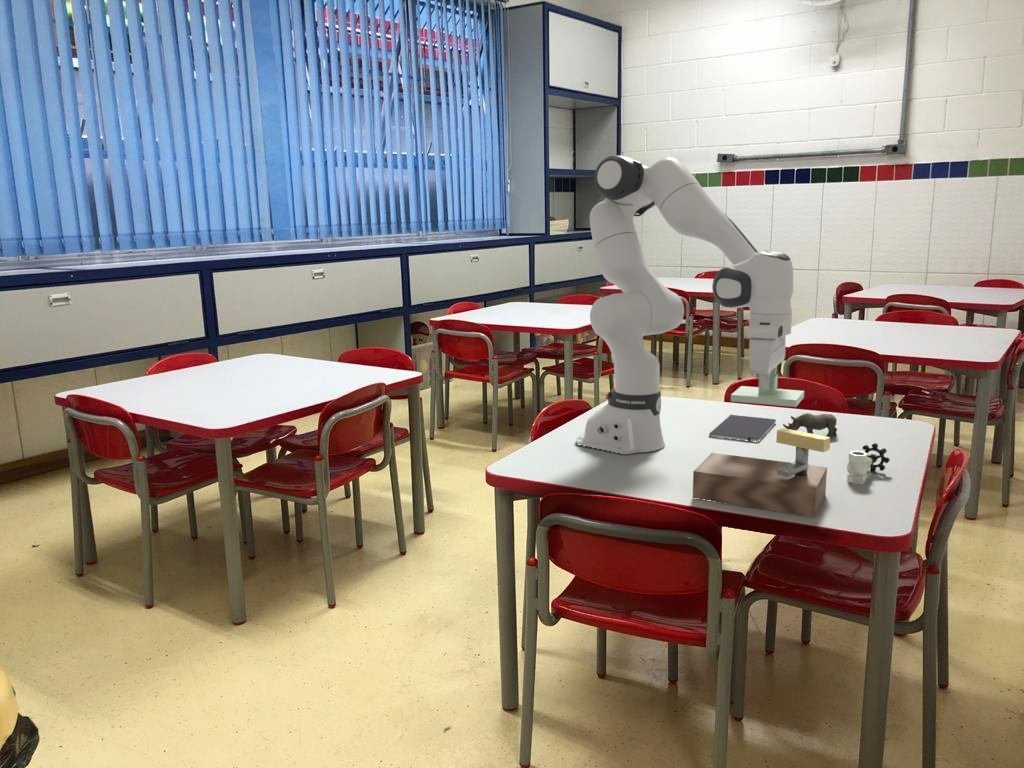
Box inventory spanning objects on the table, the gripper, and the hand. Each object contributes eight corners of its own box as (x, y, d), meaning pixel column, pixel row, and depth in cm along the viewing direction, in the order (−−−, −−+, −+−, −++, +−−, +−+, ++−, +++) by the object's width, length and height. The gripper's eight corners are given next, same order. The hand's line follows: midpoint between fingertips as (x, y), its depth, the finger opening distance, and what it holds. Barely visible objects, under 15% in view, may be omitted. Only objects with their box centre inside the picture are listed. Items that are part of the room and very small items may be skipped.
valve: (867, 488, 172) (888, 474, 180) (870, 458, 170) (891, 445, 179) (837, 481, 176) (858, 468, 185) (839, 452, 175) (860, 440, 183)
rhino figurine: (781, 432, 214) (782, 410, 213) (835, 434, 212) (837, 412, 210) (783, 437, 210) (784, 414, 209) (839, 438, 208) (840, 416, 206)
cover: (730, 401, 181) (731, 377, 179) (741, 392, 189) (742, 369, 188) (796, 407, 174) (797, 382, 173) (803, 397, 183) (805, 373, 181)
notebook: (730, 419, 230) (709, 439, 212) (730, 414, 229) (709, 433, 211) (776, 424, 224) (758, 445, 206) (776, 419, 223) (758, 439, 205)
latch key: (806, 488, 154) (808, 446, 153) (758, 476, 161) (760, 436, 160) (827, 477, 160) (830, 437, 158) (781, 466, 167) (783, 428, 166)
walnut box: (692, 498, 168) (693, 471, 166) (710, 478, 180) (711, 452, 178) (814, 517, 156) (816, 488, 155) (825, 494, 168) (827, 467, 167)
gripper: (765, 318, 189) (763, 377, 191) (745, 331, 171) (742, 394, 174) (793, 320, 186) (790, 379, 188) (775, 332, 168) (773, 397, 171)
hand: (767, 386), depth 181 cm, fingers closed on cover, 3 cm apart
